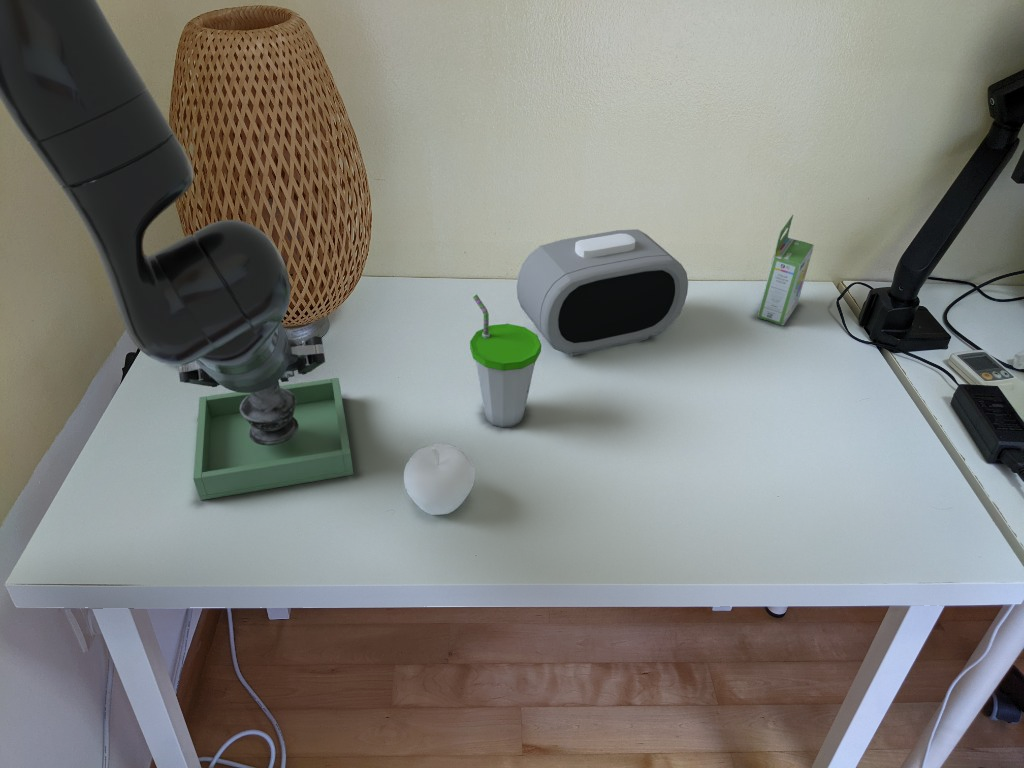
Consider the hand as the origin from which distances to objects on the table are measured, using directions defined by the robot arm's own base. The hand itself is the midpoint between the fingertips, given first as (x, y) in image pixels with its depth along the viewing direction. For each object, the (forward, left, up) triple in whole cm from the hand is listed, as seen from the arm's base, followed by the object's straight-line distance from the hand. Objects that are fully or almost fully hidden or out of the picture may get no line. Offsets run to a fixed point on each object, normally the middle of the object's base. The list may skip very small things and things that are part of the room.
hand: (263, 375), depth 83 cm
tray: (0, -2, -8) cm, 9 cm away
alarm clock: (+43, +11, -9) cm, 45 cm away
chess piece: (0, -2, -6) cm, 7 cm away
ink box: (+70, +10, -9) cm, 71 cm away
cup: (+26, -3, -9) cm, 27 cm away
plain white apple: (+16, -15, -9) cm, 23 cm away
